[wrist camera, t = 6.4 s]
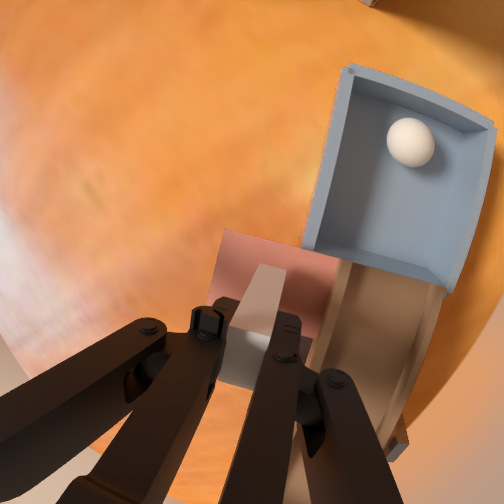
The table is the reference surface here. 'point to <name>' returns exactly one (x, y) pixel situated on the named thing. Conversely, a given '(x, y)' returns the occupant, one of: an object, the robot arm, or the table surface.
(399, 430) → the fulcrum
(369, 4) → the coffee box
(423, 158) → the ball
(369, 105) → the dish
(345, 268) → the lever
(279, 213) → the table surface
